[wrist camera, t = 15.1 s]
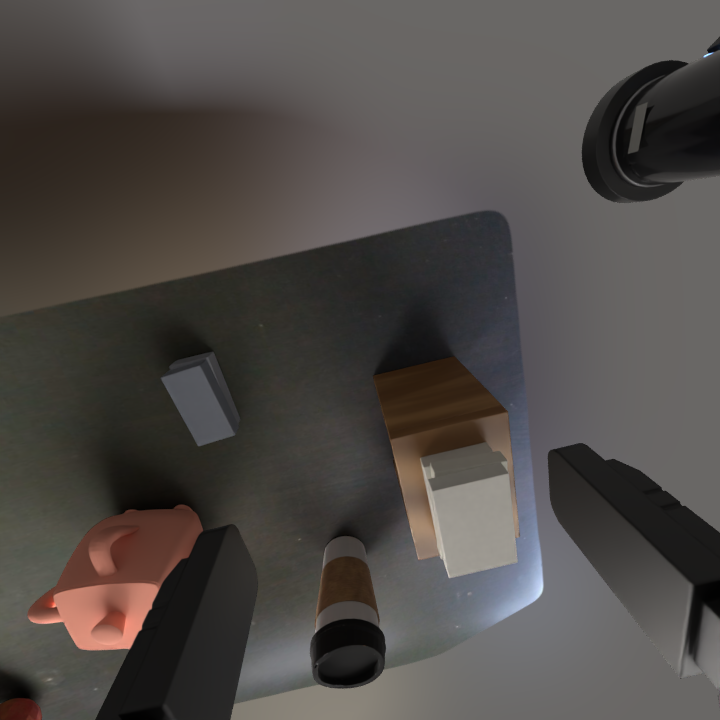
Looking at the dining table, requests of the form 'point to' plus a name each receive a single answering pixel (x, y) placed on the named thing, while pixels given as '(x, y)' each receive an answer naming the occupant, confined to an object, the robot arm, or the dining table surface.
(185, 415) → the grey books
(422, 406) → the shelf
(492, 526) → the white book
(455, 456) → the white books
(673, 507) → the robot arm
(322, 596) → the coffee cup
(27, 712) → the fruit
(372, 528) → the dining table surface
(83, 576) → the teapot
